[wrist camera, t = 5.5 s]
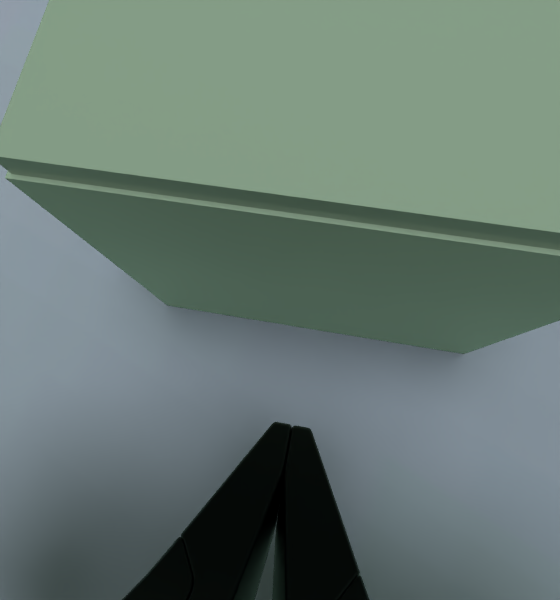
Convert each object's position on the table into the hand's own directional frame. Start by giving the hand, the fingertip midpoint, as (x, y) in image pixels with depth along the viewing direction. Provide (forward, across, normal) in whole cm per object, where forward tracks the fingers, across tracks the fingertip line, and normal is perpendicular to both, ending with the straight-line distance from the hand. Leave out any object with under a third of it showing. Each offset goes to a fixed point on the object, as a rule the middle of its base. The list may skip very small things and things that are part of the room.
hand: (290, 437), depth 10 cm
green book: (+10, 0, 0) cm, 10 cm away
